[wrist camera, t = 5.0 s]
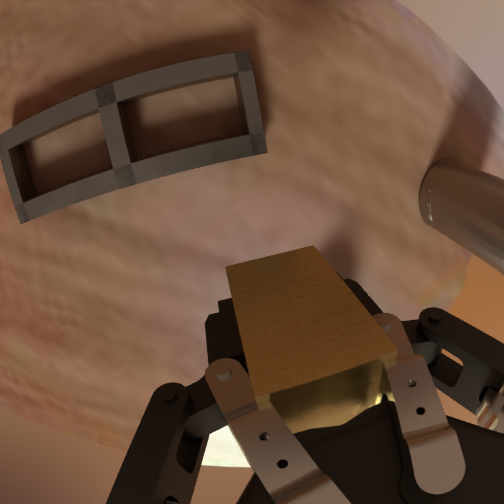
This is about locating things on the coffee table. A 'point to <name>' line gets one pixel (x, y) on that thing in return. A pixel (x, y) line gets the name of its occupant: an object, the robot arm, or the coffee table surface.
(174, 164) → the dark grey rectangular tray
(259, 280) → the block
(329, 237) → the coffee table surface
